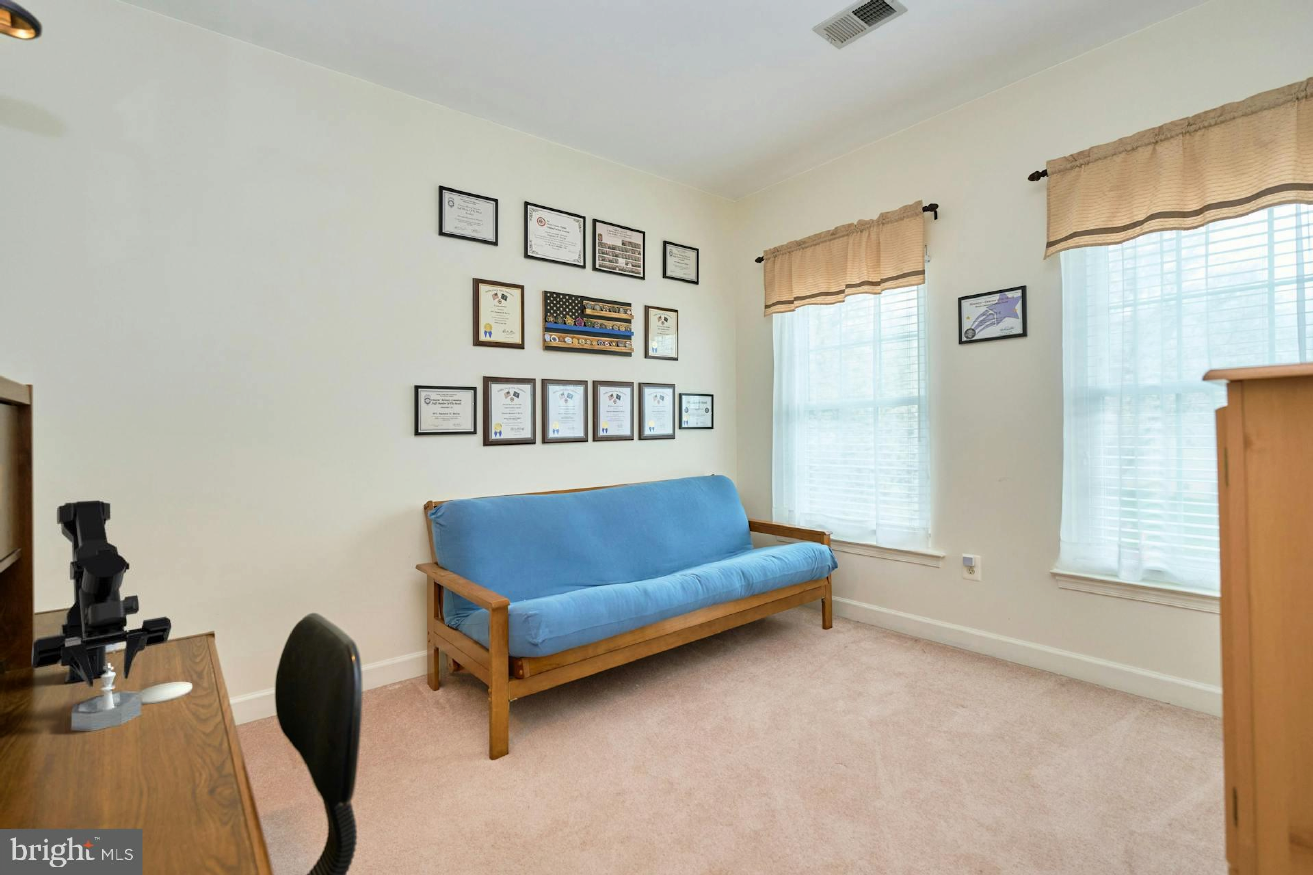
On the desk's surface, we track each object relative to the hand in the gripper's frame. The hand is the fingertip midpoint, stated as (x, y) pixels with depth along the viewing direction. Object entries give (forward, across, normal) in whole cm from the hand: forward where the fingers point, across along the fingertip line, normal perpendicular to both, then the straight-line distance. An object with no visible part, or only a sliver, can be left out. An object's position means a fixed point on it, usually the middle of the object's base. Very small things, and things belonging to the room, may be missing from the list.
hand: (109, 681), depth 107 cm
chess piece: (+4, 0, +6) cm, 7 cm away
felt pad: (0, +9, +10) cm, 13 cm away
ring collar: (+4, 0, +6) cm, 7 cm away
